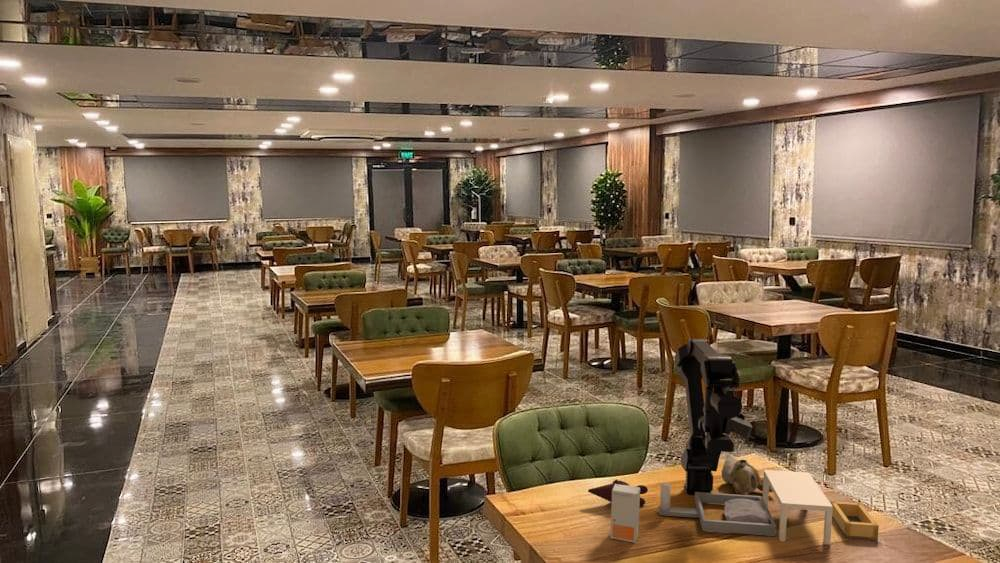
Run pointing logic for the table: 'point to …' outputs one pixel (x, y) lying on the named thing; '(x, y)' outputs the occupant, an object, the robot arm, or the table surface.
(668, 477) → the table surface
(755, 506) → the stone block
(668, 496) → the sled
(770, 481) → the white miniature table
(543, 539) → the table surface
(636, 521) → the skincare box
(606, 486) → the icecream
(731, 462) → the ceramic sculpture
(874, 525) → the tan wooden open box
